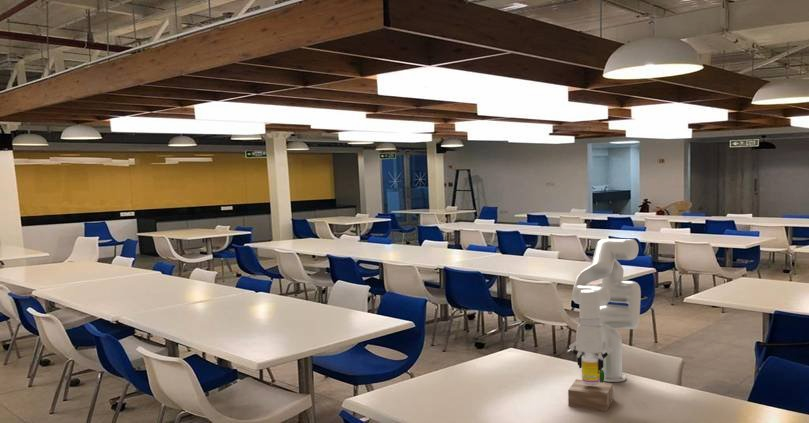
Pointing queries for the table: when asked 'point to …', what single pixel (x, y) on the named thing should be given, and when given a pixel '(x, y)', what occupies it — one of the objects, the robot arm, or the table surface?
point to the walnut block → (590, 395)
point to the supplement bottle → (590, 369)
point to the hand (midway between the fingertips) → (590, 367)
